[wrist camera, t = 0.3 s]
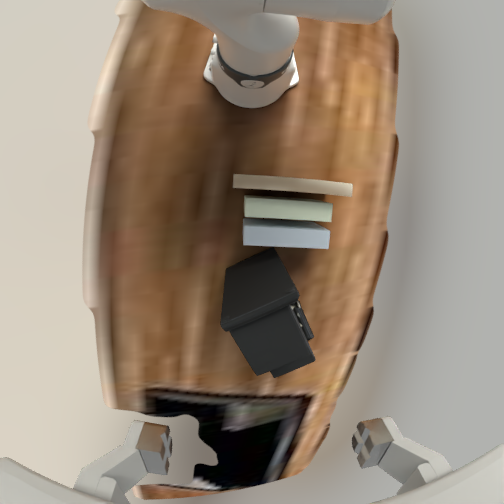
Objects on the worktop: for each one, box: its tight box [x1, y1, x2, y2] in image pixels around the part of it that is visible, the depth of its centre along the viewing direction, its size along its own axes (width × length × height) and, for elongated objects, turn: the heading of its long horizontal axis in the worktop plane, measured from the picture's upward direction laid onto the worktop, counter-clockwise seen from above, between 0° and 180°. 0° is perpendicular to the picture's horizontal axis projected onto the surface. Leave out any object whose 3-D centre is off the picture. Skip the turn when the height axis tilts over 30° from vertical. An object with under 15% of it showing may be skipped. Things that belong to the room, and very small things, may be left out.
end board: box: [233, 174, 353, 197], centre depth 47 cm, size 2×18×14 cm, turn 87°
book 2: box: [243, 218, 330, 249], centre depth 51 cm, size 3×14×11 cm, turn 87°
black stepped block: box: [220, 247, 315, 378], centre depth 49 cm, size 23×11×24 cm, turn 25°
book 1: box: [244, 195, 333, 222], centre depth 50 cm, size 3×14×11 cm, turn 87°
